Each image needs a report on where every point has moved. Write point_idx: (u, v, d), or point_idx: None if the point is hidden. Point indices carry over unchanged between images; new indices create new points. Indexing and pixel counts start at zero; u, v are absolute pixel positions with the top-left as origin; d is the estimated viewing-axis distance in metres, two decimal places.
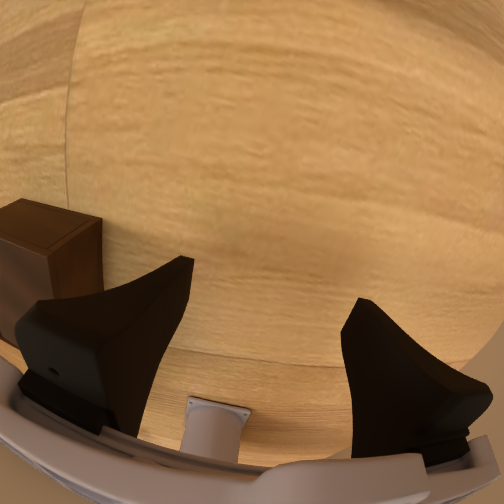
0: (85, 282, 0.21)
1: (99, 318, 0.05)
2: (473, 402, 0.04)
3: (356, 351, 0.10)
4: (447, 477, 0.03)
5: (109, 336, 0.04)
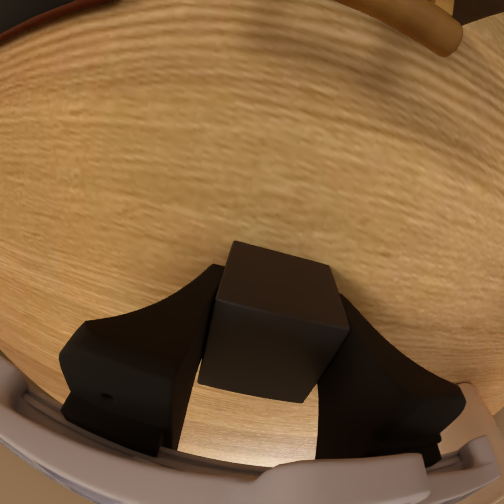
0: None
1: (158, 337, 0.05)
2: (439, 407, 0.04)
3: None
4: (447, 477, 0.03)
5: (180, 359, 0.04)
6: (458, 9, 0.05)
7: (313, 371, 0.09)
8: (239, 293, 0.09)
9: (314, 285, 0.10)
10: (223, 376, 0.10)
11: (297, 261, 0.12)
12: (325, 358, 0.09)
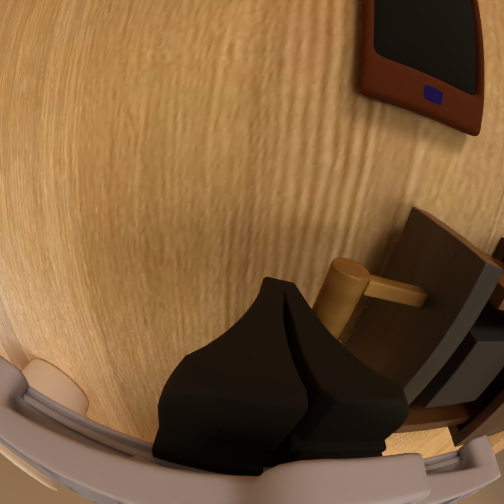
0: None
1: (265, 364, 0.05)
2: (367, 410, 0.04)
3: None
4: (447, 477, 0.03)
5: (302, 384, 0.04)
6: None
7: (456, 399, 0.10)
8: None
9: None
10: (477, 358, 0.08)
11: None
12: (463, 400, 0.10)
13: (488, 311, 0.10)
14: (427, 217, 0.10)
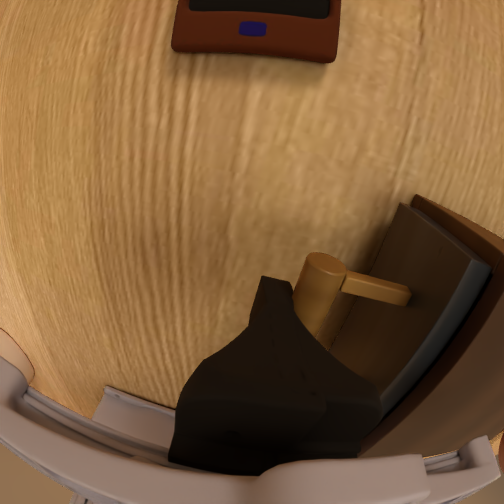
0: None
1: (281, 367, 0.05)
2: (332, 407, 0.04)
3: None
4: (447, 477, 0.03)
5: (318, 386, 0.04)
6: None
7: None
8: None
9: None
10: None
11: None
12: None
13: None
14: (413, 213, 0.10)
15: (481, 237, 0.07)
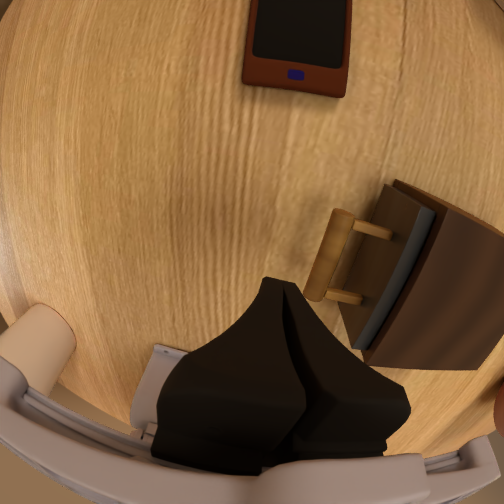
0: None
1: (264, 364, 0.05)
2: (368, 410, 0.04)
3: None
4: (447, 477, 0.03)
5: (300, 384, 0.04)
6: (344, 303, 0.21)
7: None
8: None
9: None
10: None
11: None
12: None
13: None
14: (392, 188, 0.17)
15: (430, 198, 0.14)
